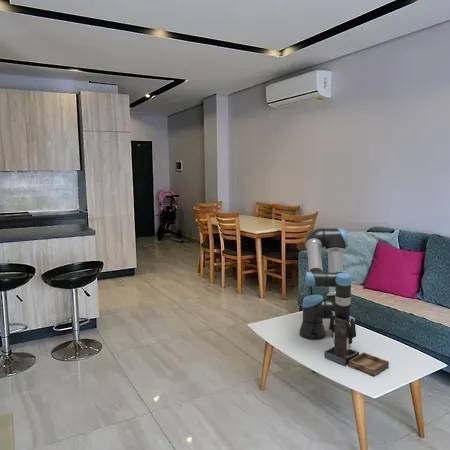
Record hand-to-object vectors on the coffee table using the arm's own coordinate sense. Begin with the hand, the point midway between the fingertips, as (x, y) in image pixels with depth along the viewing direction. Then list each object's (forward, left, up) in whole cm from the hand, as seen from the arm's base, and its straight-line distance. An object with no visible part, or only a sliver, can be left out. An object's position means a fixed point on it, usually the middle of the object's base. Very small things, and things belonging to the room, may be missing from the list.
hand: (341, 346), depth 206 cm
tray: (+14, +2, -6) cm, 16 cm away
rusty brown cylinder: (0, 0, -4) cm, 4 cm away
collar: (0, 0, -6) cm, 6 cm away
